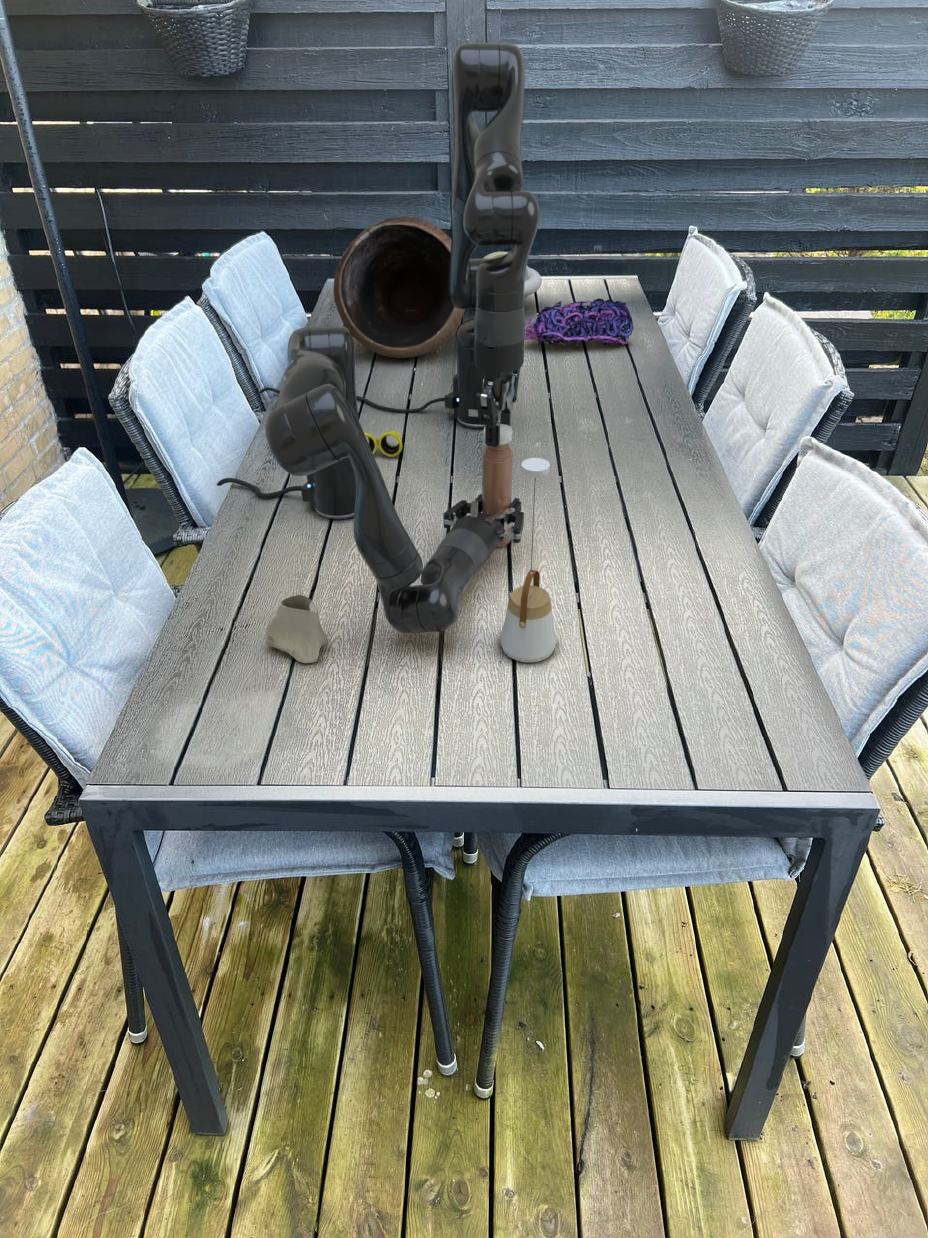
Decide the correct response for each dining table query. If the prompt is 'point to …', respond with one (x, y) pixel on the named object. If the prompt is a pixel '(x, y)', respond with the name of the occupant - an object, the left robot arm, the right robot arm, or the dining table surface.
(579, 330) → the decorative ornament
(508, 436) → the cap
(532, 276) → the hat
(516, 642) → the pendant light
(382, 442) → the opera glasses
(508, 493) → the bottle
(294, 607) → the grey hollow flared piece
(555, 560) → the dining table surface
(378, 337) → the pot
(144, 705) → the dining table surface
